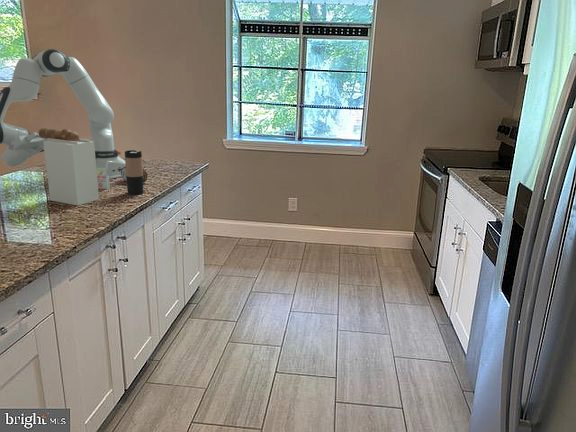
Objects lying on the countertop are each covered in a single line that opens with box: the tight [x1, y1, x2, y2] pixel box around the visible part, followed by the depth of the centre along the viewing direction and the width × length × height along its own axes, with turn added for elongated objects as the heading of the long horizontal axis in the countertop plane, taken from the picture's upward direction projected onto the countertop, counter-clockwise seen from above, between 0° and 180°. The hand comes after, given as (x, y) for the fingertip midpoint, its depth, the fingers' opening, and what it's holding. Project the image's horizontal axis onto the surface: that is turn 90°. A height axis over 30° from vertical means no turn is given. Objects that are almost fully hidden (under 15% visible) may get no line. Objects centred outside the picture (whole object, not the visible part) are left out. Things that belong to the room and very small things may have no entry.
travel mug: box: [124, 149, 144, 196], centre depth 211 cm, size 8×8×20 cm
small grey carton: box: [96, 168, 111, 190], centre depth 218 cm, size 4×7×10 cm, turn 92°
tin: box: [121, 167, 148, 184], centre depth 232 cm, size 15×3×8 cm, turn 71°
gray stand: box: [43, 138, 100, 206], centre depth 194 cm, size 16×12×27 cm
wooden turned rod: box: [37, 127, 80, 141], centre depth 191 cm, size 20×5×5 cm, turn 68°
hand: (45, 133), depth 194 cm, fingers open, 8 cm apart
